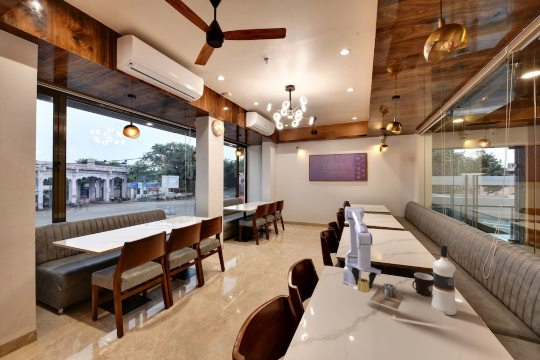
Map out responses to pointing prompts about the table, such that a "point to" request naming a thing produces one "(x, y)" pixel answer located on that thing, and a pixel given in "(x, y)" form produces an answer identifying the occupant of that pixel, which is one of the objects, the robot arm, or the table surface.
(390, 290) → the steel gear
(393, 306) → the board
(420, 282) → the coffee mug
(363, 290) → the brass gear
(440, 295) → the vodka
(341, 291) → the table surface
